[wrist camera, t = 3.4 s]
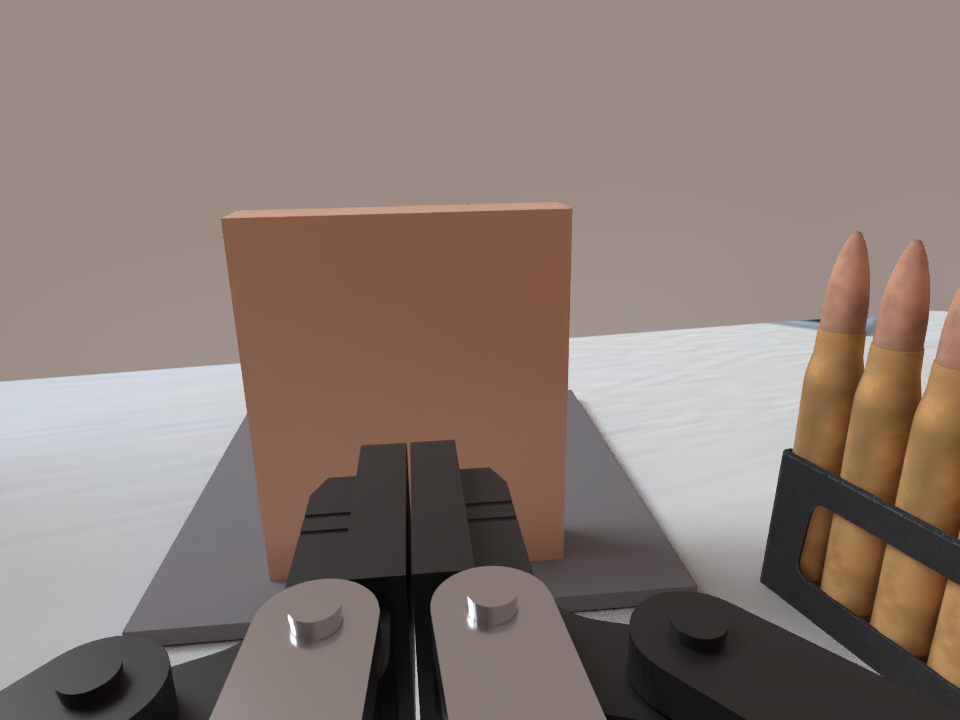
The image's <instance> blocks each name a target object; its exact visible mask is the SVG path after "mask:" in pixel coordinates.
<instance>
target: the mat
mask: <svg viewBox="0 0 960 720" xmlns="http://www.w3.org/2000/svg"><path fill="white" fill-rule="evenodd" d="M530 564H531V567H532V571H533V574H534V577H536V578H537V579H539V580H540V581H541V582H543V583H544V584H545V586H546V587H547V588H548V589H549V591H550V592H551V594H552V596H553V598H554V601H555V603H556V605H557V606H559V607H560V608H562V609H564V610H566V611H568V612H573V611H585V610H597V609H609V608H621V607H633V606H638V605H639V604H640V603H641V602H643V601H644V600H646V599H647V598H650V597H652V596H654V595H657V594H661V593H665V592H673V591H688V592H697V585H696V583H695V582H694V580H693V579H692V577H691V576H690V574H689V572H688V571H687V569H686V568H685V566H684V565H683V563H682V562H681V560H680V558H679V557H678V555H677V554H676V552H675V551H674V549H673V548H672V546H671V544H670V543H669V541H668V540H667V538H666V537H665V535H664V534H663V532H662V530H661V529H660V527H659V526H658V524H657V523H656V521H655V520H654V518H653V516H652V515H651V513H650V512H649V510H648V509H647V507H646V506H645V504H644V502H643V501H642V499H641V498H640V496H639V495H638V493H637V491H636V490H635V488H634V487H633V485H632V484H631V482H630V481H629V479H628V477H627V476H626V474H625V473H624V471H623V470H622V468H621V467H620V465H619V463H618V462H617V460H616V459H615V457H614V456H613V454H612V453H611V451H610V449H609V448H608V446H607V445H606V443H605V442H604V440H603V439H602V437H601V435H600V434H599V432H598V431H597V429H596V428H595V426H594V425H593V423H592V421H591V420H590V418H589V417H588V415H587V414H586V412H585V411H584V409H583V407H582V406H581V404H580V403H579V401H578V400H577V398H576V396H575V395H574V393H573V392H572V390H568V397H567V435H566V474H565V513H564V552H563V559H556V560H543V561H530ZM286 582H287V580H279V581H270V576H269V569H268V562H267V554H266V547H265V540H264V532H263V525H262V517H261V510H260V503H259V495H258V488H257V481H256V473H255V466H254V458H253V451H252V444H251V436H250V429H249V422H248V414H247V415H246V417H245V418H244V420H243V422H242V424H241V425H240V427H239V429H238V431H237V432H236V434H235V436H234V438H233V439H232V441H231V443H230V445H229V446H228V448H227V450H226V452H225V453H224V455H223V457H222V459H221V460H220V462H219V464H218V466H217V467H216V469H215V471H214V473H213V474H212V476H211V478H210V480H209V481H208V483H207V485H206V487H205V488H204V490H203V492H202V494H201V495H200V497H199V499H198V501H197V502H196V504H195V506H194V508H193V509H192V511H191V513H190V515H189V516H188V518H187V520H186V522H185V523H184V525H183V527H182V529H181V531H180V532H179V534H178V536H177V538H176V539H175V541H174V543H173V545H172V546H171V548H170V550H169V552H168V553H167V555H166V557H165V559H164V560H163V562H162V564H161V566H160V567H159V569H158V571H157V573H156V574H155V576H154V578H153V580H152V581H151V583H150V585H149V587H148V588H147V590H146V592H145V594H144V595H143V597H142V599H141V601H140V602H139V604H138V606H137V608H136V609H135V611H134V613H133V615H132V616H131V618H130V620H129V622H128V623H127V625H126V627H125V629H124V630H123V632H122V633H123V636H141V637H145V638H149V639H152V640H154V641H156V642H158V643H159V644H160V645H162V646H164V645H176V644H188V643H200V642H212V641H224V640H236V639H244V638H245V636H246V633H247V631H248V629H249V626H250V624H251V622H252V620H253V618H254V616H255V614H256V612H257V611H258V610H259V609H260V608H261V606H262V605H263V604H264V603H266V602H267V601H268V600H269V599H270V598H272V597H273V596H275V595H276V594H277V593H279V592H281V591H283V590H285V586H286ZM414 625H415V622H414Z"/></svg>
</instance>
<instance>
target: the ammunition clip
mask: <svg viewBox="0 0 960 720" xmlns="http://www.w3.org/2000/svg"><path fill="white" fill-rule="evenodd" d="M869 293H870V270H869V259H868V252H867V247H866V243H865V240H864V238H863V235H862V233H861V232H859V231H856V232H853V233H852V235H851V236H850V237H849V239H848V240H847V242H846V243H845V245H844V247H843V249H842V250H841V252H840V255H839V257H838V259H837V261H836V264H835V266H834V269H833V272H832V275H831V277H830V280H829V284H828V288H827V291H826V295H825V299H824V303H823V309H822V315H821V321H820V326H819V327H818V331H817V336H816V341H815V346H814V351H813V354H812V356H811V359H810V362H809V364H808V367H807V370H806V372H805V377H804V382H803V389H802V395H801V402H800V409H799V415H798V422H797V428H796V435H795V442H794V448H793V449H791V448H790V449H785V450H784V451H783V455H782V461H781V466H780V472H779V478H778V483H777V489H776V494H775V500H774V506H773V511H772V517H771V522H770V528H769V534H768V539H767V545H766V551H765V556H764V562H763V567H762V573H761V578H760V582H761V583H763V584H764V585H765V586H767V587H768V588H769V589H770V590H772V591H773V592H774V593H776V594H777V595H778V596H779V597H781V598H782V599H783V600H785V601H786V602H787V603H788V604H790V605H791V606H792V607H794V608H795V609H796V610H798V611H799V612H800V613H801V614H803V615H804V616H805V617H807V618H808V619H809V620H810V621H812V622H813V623H814V624H816V625H817V626H818V627H819V628H821V629H822V630H823V631H825V632H826V633H827V634H828V635H830V636H831V637H832V638H834V639H835V640H836V641H837V642H839V643H840V644H841V645H843V646H844V647H845V648H846V649H848V650H849V651H850V652H852V653H853V654H854V655H855V656H857V657H858V658H859V659H861V660H862V661H863V662H864V663H866V664H867V665H868V666H870V667H871V668H872V669H873V670H875V671H876V672H877V673H879V674H880V675H881V676H883V677H884V678H886V679H888V680H890V681H892V682H894V683H896V684H898V685H901V686H903V687H905V688H907V689H909V690H911V691H913V692H915V693H917V694H919V695H921V696H923V697H925V698H927V699H929V700H931V701H934V702H936V703H938V704H940V705H942V706H944V707H946V708H948V709H950V710H952V711H954V712H956V713H958V714H960V286H959V288H958V290H957V292H956V294H955V296H954V299H953V301H952V304H951V306H950V309H949V311H948V314H947V317H946V320H945V323H944V326H943V329H942V332H941V337H940V341H939V345H938V350H937V354H936V358H935V359H934V361H933V365H932V368H931V372H930V376H929V380H928V384H927V387H926V390H925V392H924V394H923V396H922V399H921V370H922V363H923V356H924V348H923V347H924V341H925V336H926V330H927V325H928V317H929V304H930V276H929V266H928V259H927V255H926V251H925V248H924V245H923V243H922V241H920V240H913V241H912V242H911V243H910V244H909V245H908V247H907V248H906V249H905V251H904V252H903V254H902V255H901V257H900V259H899V261H898V263H897V265H896V267H895V269H894V271H893V273H892V275H891V277H890V280H889V282H888V285H887V287H886V290H885V293H884V296H883V299H882V303H881V306H880V309H879V313H878V317H877V321H876V326H875V332H874V337H873V341H872V343H871V345H870V350H869V354H868V358H867V363H866V367H865V370H864V361H863V354H864V346H865V337H866V331H865V328H866V322H867V315H868V308H869ZM792 451H793V452H792Z"/></svg>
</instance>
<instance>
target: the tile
mask: <svg viewBox="0 0 960 720" xmlns="http://www.w3.org/2000/svg"><path fill="white" fill-rule="evenodd" d="M221 222H222V230H223V237H224V244H225V252H226V259H227V266H228V274H229V282H230V288H231V296H232V303H233V311H234V318H235V326H236V333H237V340H238V348H239V355H240V363H241V370H242V377H243V385H244V392H245V399H246V407H247V414H248V422H249V429H250V436H251V444H252V451H253V458H254V466H255V473H256V481H257V488H258V495H259V503H260V510H261V517H262V525H263V532H264V540H265V547H266V554H267V562H268V569H269V576H270V581H279V580H287V579H288V575H289V571H290V568H291V564H292V560H293V557H294V553H295V549H296V545H297V542H298V538H299V536H300V531H301V527H302V523H303V520H304V519H305V512H306V509H307V505H308V501H309V498H310V495H311V494H312V493H313V492H314V491H315V490H316V489H317V488H318V487H319V486H320V485H321V484H322V483H323V482H324V481H325V480H326V479H327V478H333V477H348V476H356V475H357V468H358V461H359V455H360V448H361V445H377V444H393V443H407V455H408V472H409V489H410V506H411V464H410V442H423V441H440V440H455V443H456V450H457V456H458V462H459V469H469V468H484V467H490V468H491V469H492V470H493V471H494V472H496V473H497V474H498V475H499V476H500V477H502V478H503V479H504V480H505V481H506V482H507V484H508V488H509V491H510V495H511V498H512V504H513V505H514V509H515V512H516V515H517V520H518V522H519V526H520V529H521V533H522V536H523V540H524V543H525V547H526V550H527V554H528V557H529V560H530V561H543V560H556V559H563V552H564V513H565V474H566V435H567V397H568V358H569V318H570V280H571V279H570V278H571V240H572V208H570V207H568V206H566V205H564V204H561V203H559V202H541V203H506V204H505V203H504V204H471V205H470V204H467V205H431V206H394V207H358V208H322V209H285V210H248V211H236V212H234V213H232V214H230V215H227V216H225V217H223V218H221Z"/></svg>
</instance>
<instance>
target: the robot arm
mask: <svg viewBox="0 0 960 720" xmlns="http://www.w3.org/2000/svg"><path fill="white" fill-rule="evenodd" d="M410 464H411V506H410V489H409V472H408V455H407V443H393V444H377V445H361V448H360V455H359V461H358V468H357V475H356V476H348V477H333V478H327V479H326V480H325V481H324V482H323V483H322V484H321V485H320V486H319V487H318V488H317V489H316V490H315V491H314V492H313V493H312V494H311V495H310V498H309V501H308V505H307V509H306V512H305V519H304V520H303V523H302V527H301V531H300V536H299V538H298V542H297V545H296V549H295V553H294V557H293V560H292V564H291V568H290V571H289V575H288V579H287V582H286V586H285V590H283V591H281V592H279V593H277V594H276V595H275V596H273V597H272V598H270V599H269V600H268V601H267V602H266V603H264V604H263V605H262V606H261V608H260V609H259V610H258V611H257V612H256V614H255V616H254V618H253V620H252V622H251V624H250V626H249V629H248V631H247V633H246V636H245V638H244V640H243V641H242V642H241V643H239V644H237V645H235V646H233V647H230V648H228V649H226V650H223V651H220V652H218V653H215V654H212V655H208V656H205V657H202V658H199V659H196V660H192V661H189V662H186V663H183V664H180V665H176V666H173V667H171V665H170V660H169V657H168V653H167V652H166V650H165V649H164V647H163V646H162V645H160V644H159V643H158V642H156V641H154V640H152V639H149V638H145V637H141V636H115V637H109V638H104V639H100V640H96V641H92V642H89V643H87V644H84V645H81V646H78V647H76V648H74V649H72V650H69V651H67V652H65V653H63V654H62V655H60V656H58V657H56V658H54V659H53V660H51V661H49V662H48V663H46V664H44V665H43V666H41V667H39V668H38V669H36V670H35V671H33V672H31V673H30V674H28V675H26V676H25V677H23V678H21V679H20V680H18V681H16V682H15V683H13V684H11V685H10V686H8V687H6V688H5V689H3V690H2V691H0V720H416V708H415V639H414V622H415V638H416V655H417V671H418V688H419V704H420V720H960V714H958V713H956V712H954V711H952V710H950V709H948V708H946V707H944V706H942V705H940V704H938V703H936V702H934V701H931V700H929V699H927V698H925V697H923V696H921V695H919V694H917V693H915V692H913V691H911V690H909V689H907V688H905V687H903V686H901V685H898V684H896V683H894V682H892V681H890V680H888V679H886V678H884V677H882V676H880V675H878V674H876V673H874V672H872V671H870V670H868V669H865V668H863V667H861V666H859V665H857V664H855V663H853V662H851V661H849V660H847V659H845V658H843V657H841V656H839V655H837V654H835V653H832V652H830V651H828V650H826V649H824V648H822V647H820V646H818V645H816V644H814V643H812V642H810V641H808V640H806V639H804V638H802V637H799V636H797V635H795V634H793V633H791V632H789V631H787V630H785V629H783V628H781V627H779V626H777V625H775V624H773V623H771V622H769V621H766V620H764V619H762V618H760V617H758V616H756V615H754V614H752V613H750V612H748V611H746V610H744V609H742V608H740V607H738V606H736V605H733V604H731V603H729V602H727V601H725V600H722V599H720V598H717V597H714V596H711V595H707V594H702V593H697V592H688V591H673V592H665V593H661V594H657V595H654V596H652V597H650V598H647V599H646V600H644V601H643V602H641V603H640V604H639V605H638V606H637V607H636V608H635V610H634V612H633V613H632V615H631V619H630V625H627V624H621V623H614V622H607V621H600V620H595V619H590V618H585V617H582V616H579V615H575V614H573V613H571V612H568V611H566V610H564V609H562V608H560V607H559V606H557V605H556V603H555V601H554V598H553V596H552V594H551V592H550V591H549V589H548V588H547V587H546V586H545V584H544V583H543V582H541V581H540V580H539V579H537V578H536V577H534V574H533V571H532V567H531V564H530V560H529V557H528V554H527V550H526V547H525V543H524V540H523V536H522V533H521V529H520V526H519V522H518V520H517V515H516V512H515V509H514V505H513V504H512V498H511V495H510V491H509V488H508V484H507V482H506V481H505V480H504V479H503V478H502V477H500V476H499V475H498V474H497V473H496V472H494V471H493V470H492V469H491V468H490V467H484V468H469V469H459V462H458V456H457V450H456V443H455V440H440V441H423V442H410Z"/></svg>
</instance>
